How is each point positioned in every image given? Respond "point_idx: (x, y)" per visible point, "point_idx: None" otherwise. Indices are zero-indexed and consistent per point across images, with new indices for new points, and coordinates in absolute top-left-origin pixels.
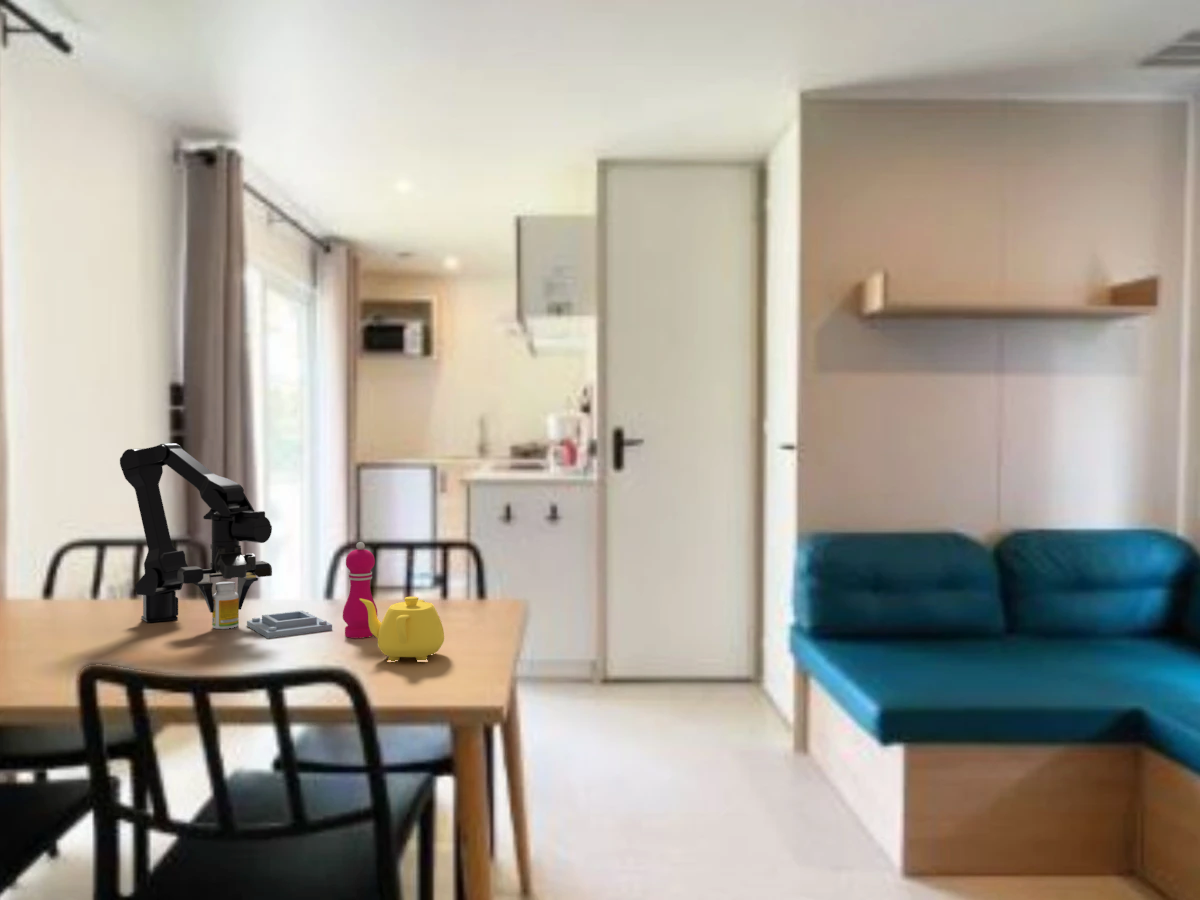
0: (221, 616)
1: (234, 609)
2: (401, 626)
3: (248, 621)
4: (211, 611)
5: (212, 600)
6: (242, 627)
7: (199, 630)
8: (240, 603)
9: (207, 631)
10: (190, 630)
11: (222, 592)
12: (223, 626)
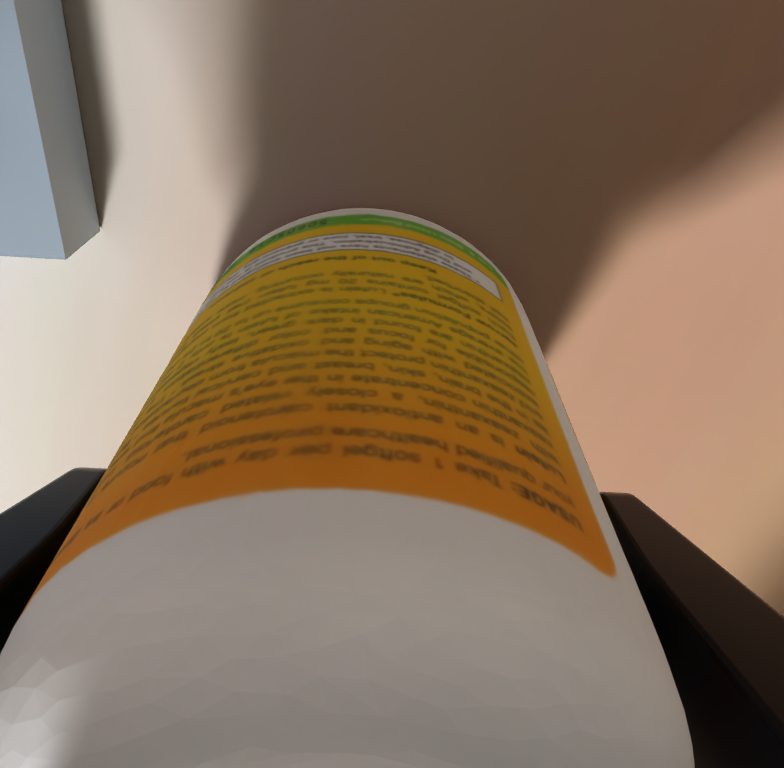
0: (496, 324)
1: (231, 345)
2: None
3: (47, 186)
4: (636, 498)
5: (744, 667)
6: (174, 194)
7: (705, 358)
8: (32, 530)
9: (669, 240)
10: (775, 416)
11: None
12: (452, 238)
